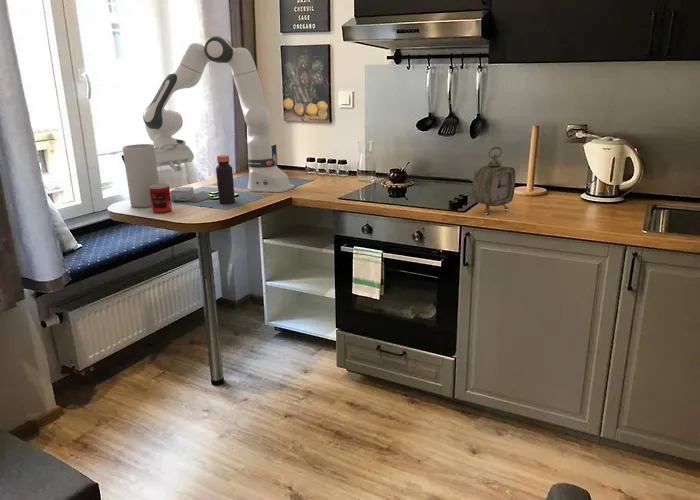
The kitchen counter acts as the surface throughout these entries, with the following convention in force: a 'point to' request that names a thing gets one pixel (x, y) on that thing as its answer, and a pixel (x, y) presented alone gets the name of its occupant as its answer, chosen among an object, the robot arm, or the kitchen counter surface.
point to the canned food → (160, 198)
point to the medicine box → (182, 194)
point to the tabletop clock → (494, 183)
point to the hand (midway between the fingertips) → (178, 170)
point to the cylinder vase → (140, 173)
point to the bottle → (225, 180)
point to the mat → (200, 196)
